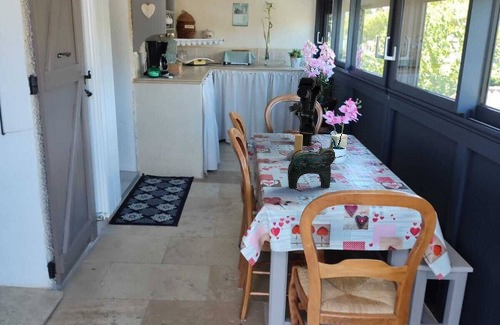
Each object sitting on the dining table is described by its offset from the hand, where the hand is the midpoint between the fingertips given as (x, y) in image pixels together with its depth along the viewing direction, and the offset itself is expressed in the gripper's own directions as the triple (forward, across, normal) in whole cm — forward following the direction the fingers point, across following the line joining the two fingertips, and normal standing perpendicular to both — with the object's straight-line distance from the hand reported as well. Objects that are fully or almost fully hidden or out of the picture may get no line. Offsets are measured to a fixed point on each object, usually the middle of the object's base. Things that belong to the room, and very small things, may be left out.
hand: (301, 128), depth 246 cm
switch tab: (+15, +15, -5) cm, 22 cm away
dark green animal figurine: (+27, +56, -11) cm, 63 cm away
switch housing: (+16, +10, -3) cm, 19 cm away
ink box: (+13, +9, +19) cm, 25 cm away
